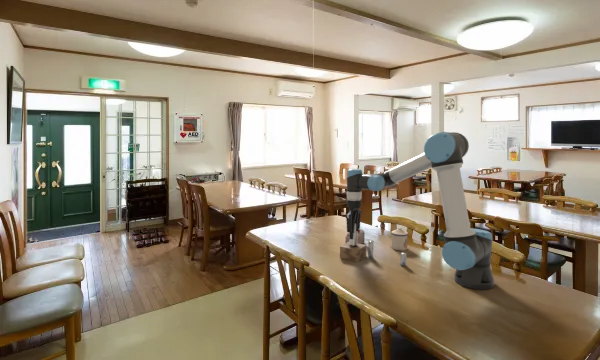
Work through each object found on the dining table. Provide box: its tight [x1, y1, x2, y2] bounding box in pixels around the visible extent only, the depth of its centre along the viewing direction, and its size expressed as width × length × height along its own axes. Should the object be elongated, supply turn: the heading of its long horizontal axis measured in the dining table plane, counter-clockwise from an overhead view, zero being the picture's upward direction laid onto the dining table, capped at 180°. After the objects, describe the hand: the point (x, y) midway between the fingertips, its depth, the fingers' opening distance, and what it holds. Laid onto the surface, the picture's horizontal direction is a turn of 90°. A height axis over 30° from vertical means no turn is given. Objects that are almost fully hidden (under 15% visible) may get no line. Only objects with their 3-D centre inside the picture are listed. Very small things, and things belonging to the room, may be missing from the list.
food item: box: [344, 228, 366, 244], centre depth 192 cm, size 14×8×10 cm, turn 150°
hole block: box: [339, 242, 367, 263], centre depth 174 cm, size 10×10×6 cm
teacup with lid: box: [390, 227, 409, 251], centre depth 189 cm, size 12×9×12 cm
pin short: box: [400, 251, 407, 267], centre depth 163 cm, size 3×3×6 cm
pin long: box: [351, 223, 356, 247], centre depth 173 cm, size 3×3×15 cm
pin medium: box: [367, 239, 375, 260], centre depth 173 cm, size 3×3×9 cm
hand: (353, 243), depth 174 cm, fingers closed on pin long, 2 cm apart
